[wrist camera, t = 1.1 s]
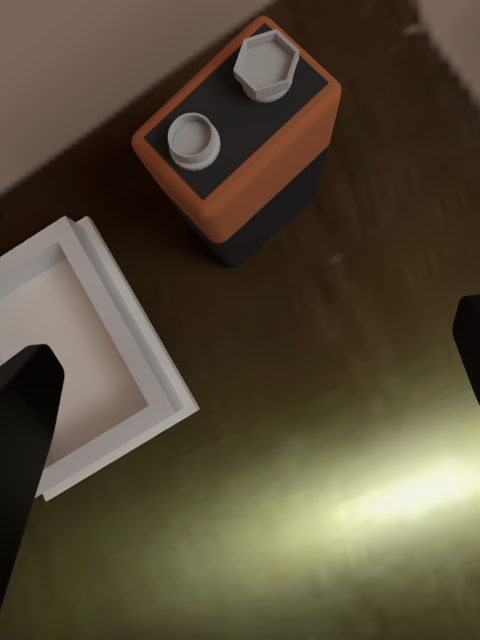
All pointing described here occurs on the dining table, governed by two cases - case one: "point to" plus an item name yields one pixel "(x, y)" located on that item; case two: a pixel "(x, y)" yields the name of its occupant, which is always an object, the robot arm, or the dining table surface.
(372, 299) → the dining table surface
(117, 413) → the tray
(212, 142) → the battery
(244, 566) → the dining table surface
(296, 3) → the dining table surface
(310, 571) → the dining table surface
